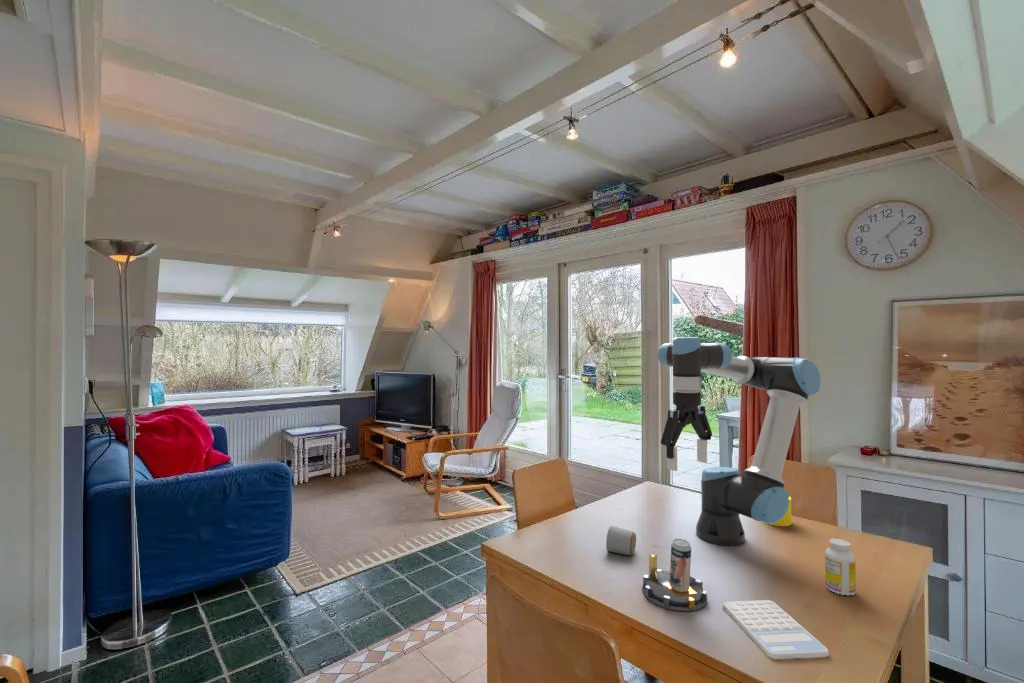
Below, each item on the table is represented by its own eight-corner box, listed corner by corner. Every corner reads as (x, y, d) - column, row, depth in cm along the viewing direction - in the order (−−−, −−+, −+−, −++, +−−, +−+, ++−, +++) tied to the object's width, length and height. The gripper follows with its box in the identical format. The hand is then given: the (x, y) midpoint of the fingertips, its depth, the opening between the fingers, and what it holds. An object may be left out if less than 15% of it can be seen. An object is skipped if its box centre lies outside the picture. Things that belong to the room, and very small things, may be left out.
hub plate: (690, 578, 130) (690, 576, 130) (719, 611, 114) (719, 609, 114) (634, 579, 129) (634, 577, 129) (654, 612, 113) (654, 610, 113)
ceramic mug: (632, 560, 141) (632, 534, 141) (605, 554, 144) (605, 529, 144) (638, 546, 150) (638, 523, 150) (613, 542, 154) (613, 518, 154)
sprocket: (652, 570, 133) (652, 542, 133) (711, 586, 124) (711, 556, 124) (635, 596, 119) (635, 565, 119) (700, 616, 111) (700, 582, 111)
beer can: (665, 585, 120) (667, 540, 119) (679, 580, 122) (681, 536, 121) (679, 595, 116) (681, 549, 115) (693, 590, 118) (695, 545, 117)
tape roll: (758, 522, 170) (758, 497, 170) (761, 514, 178) (761, 490, 178) (790, 529, 164) (790, 502, 164) (792, 520, 173) (792, 495, 173)
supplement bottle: (850, 586, 126) (850, 538, 126) (859, 599, 120) (859, 549, 120) (821, 582, 128) (821, 535, 128) (829, 594, 122) (829, 545, 122)
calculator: (771, 605, 118) (771, 598, 118) (832, 659, 98) (831, 650, 98) (720, 607, 117) (720, 600, 117) (771, 662, 97) (771, 653, 97)
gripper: (701, 386, 142) (702, 456, 142) (646, 393, 128) (647, 470, 129) (724, 388, 136) (725, 461, 136) (669, 396, 122) (670, 476, 122)
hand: (687, 465), depth 132 cm, fingers open, 13 cm apart
